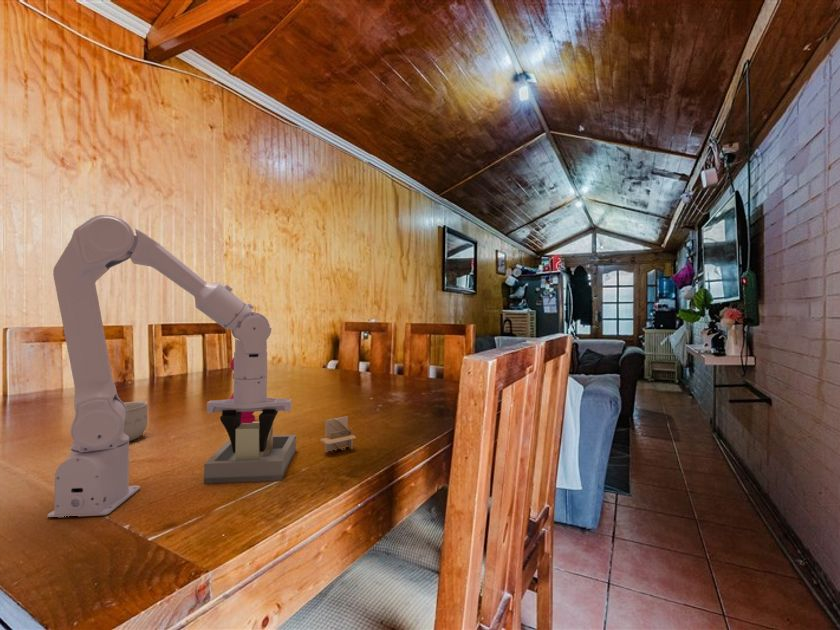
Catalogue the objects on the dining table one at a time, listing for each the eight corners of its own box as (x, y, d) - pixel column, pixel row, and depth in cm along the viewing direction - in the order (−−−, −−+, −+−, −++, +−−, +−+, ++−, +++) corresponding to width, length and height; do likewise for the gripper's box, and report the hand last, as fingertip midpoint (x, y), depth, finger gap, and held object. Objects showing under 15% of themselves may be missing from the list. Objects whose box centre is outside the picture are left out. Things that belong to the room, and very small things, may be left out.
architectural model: (356, 453, 90) (356, 419, 90) (327, 460, 85) (328, 424, 85) (347, 449, 93) (348, 415, 93) (319, 456, 88) (320, 421, 88)
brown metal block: (268, 456, 83) (268, 426, 83) (247, 456, 83) (247, 426, 83) (272, 449, 87) (273, 421, 87) (252, 450, 87) (253, 421, 86)
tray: (281, 480, 74) (281, 461, 74) (203, 483, 72) (204, 463, 72) (295, 450, 90) (295, 434, 90) (232, 452, 88) (232, 436, 88)
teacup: (117, 449, 89) (117, 412, 89) (76, 445, 91) (76, 409, 91) (169, 431, 102) (169, 399, 102) (132, 428, 105) (132, 397, 105)
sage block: (258, 461, 75) (258, 428, 75) (235, 462, 75) (235, 429, 75) (263, 454, 79) (263, 422, 79) (241, 454, 79) (241, 423, 79)
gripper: (294, 373, 82) (293, 442, 82) (216, 374, 80) (215, 444, 80) (288, 379, 75) (287, 454, 75) (202, 380, 73) (201, 457, 73)
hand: (249, 450), depth 77 cm, fingers closed on sage block, 4 cm apart
